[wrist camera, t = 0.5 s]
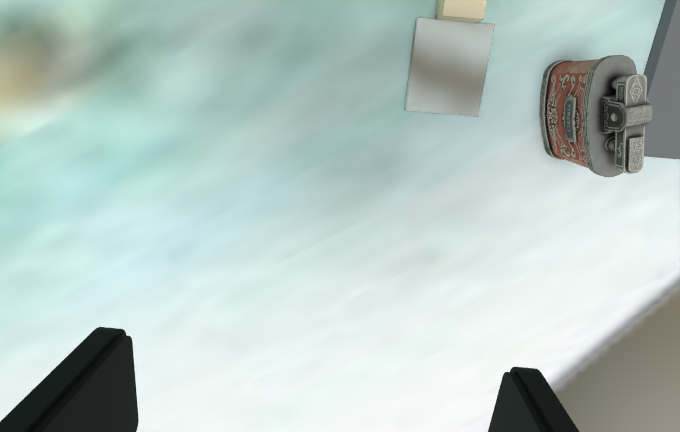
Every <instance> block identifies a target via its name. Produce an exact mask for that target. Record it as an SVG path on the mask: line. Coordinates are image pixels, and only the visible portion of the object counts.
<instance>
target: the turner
mask: <svg viewBox="0 0 680 432" xmlns="http://www.w3.org/2000/svg"><path fill="white" fill-rule="evenodd" d="M486 3H487V0H438V2H437V9H436V16H435V19H427V18H417V19H416V23H415V31H414V39H413V47H412V55H411V63H410V70H409V78H408V86H407V94H406V102H405V109H404V110H406V111H417V112H429V113H440V114H452V115H464V116H475V117H478V114H479V108H480V103H481V97H482V92H483V87H484V81H485V76H486V70H487V65H488V59H489V54H490V49H491V43H492V38H493V32H494V27H495V24H484V23H476V22H478V21H481V20H483V19H484V14H485V8H486Z"/></svg>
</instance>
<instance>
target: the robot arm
mask: <svg viewBox="0 0 680 432" xmlns="http://www.w3.org/2000/svg"><path fill="white" fill-rule="evenodd" d="M137 427H138V408H137V396H136V383H135V371H134V358H133V346H132V338H131V337H130V336H126V332H125V331H124V330H123V329H115V328H105V327H99V328H96V329H95V330H94V331H93V332H92V333H91V334H90V335H89V336H88V337H87V338H86V339H85V340H84V341H83V342H82V343H81V344H80V345H78V346H77V347H76V348H75V349H74V350H73V351H72V352H71V353H70V354H69V355H68V356H67V357H66V358H65V359H64V360H63V361H62V362H61V363H60V364H59V365H58V366H57V367H56V368H55V369H54V370H53V371H52V372H51V373H50V374H49V375H48V376H47V377H46V378H45V379H44V380H43V381H42V382H41V383H40V384H39V385H37V386H36V387H35V388H34V389H33V390H32V391H31V392H30V393H29V394H28V395H27V396H26V397H25V398H24V399H23V400H22V401H21V402H20V403H19V404H18V405H17V406H16V407H15V408H14V409H13V410H12V411H11V412H10V413H9V414H8V415H7V416H6V417H5V418H4V419H3V420H2V421H1V422H0V432H136V430H137ZM488 432H579V431H578V429H577V428H576V426H575V424H574V423H573V421H572V420H571V418H570V417H569V415H568V414H567V412H566V410H565V409H564V407H563V406H562V404H561V403H560V401H559V400H558V398H557V397H556V395H555V393H554V392H553V390H552V389H551V387H550V386H549V384H548V383H547V381H546V380H545V378H544V376H543V375H542V373H541V372H540V371H539V370H538V369H533V368H522V367H513V368H512V369H511V370H510V372H505V373H504V375H503V378H502V382H501V385H500V389H499V393H498V396H497V400H496V404H495V408H494V411H493V415H492V419H491V423H490V426H489V430H488Z"/></svg>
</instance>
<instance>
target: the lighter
mask: <svg viewBox="0 0 680 432" xmlns="http://www.w3.org/2000/svg"><path fill="white" fill-rule="evenodd" d="M646 90H647V78H646V76H645V75H643V74H637V72H636V66H635V64H634V62H633V60H631V59H630V58H629V57H627V56H624V55H613V56H607V57H604V58H601V59H599V60H587V61H572V60H560V61H556V62H553V63H552V64H551V65H549V66H548V67H547V68H546V70H545V71H544V74H543V79H542V86H541V92H540V110H539V116H540V126H541V134H542V138H543V142H544V147H545V150H546V152H547V154H548V155H550V156H551V157H554V158H556V159H560V160H568V161H571V162H573V163H576V164H579V165H581V166H584V167H587V168H589V169H590V170H591V171H592V172H593V173H595V174H598V175H601V176H604V177H614V176H617V175H620V174H621V173H623V172H624V173H627V174H633V173H637V172H639V171H641V169H642V168H643V158H644V135H645V127H646V126H647V125H648V124H649V123H650V122H651V121H652V119H653V107H652V105H651V104H650V103H649V101H648V99H647V98H646Z"/></svg>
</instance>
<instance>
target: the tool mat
mask: <svg viewBox="0 0 680 432" xmlns="http://www.w3.org/2000/svg"><path fill="white" fill-rule="evenodd" d="M644 75H645V76H646V78H647V90H646V98H647V99H648V101H649V103H650V104H651V105H652V107H653V119H652V121H651V122H650V123H649V124H648V125H647V126H646V127H645V135H644V156H649V157H660V158H672V159H680V0H666V2H665V6H664V9H663V12H662V16H661V19H660V22H659V26H658V29H657V32H656V36H655V39H654V42H653V46H652V49H651V52H650V56H649V59H648V62H647V66H646V69H645V72H644Z"/></svg>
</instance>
